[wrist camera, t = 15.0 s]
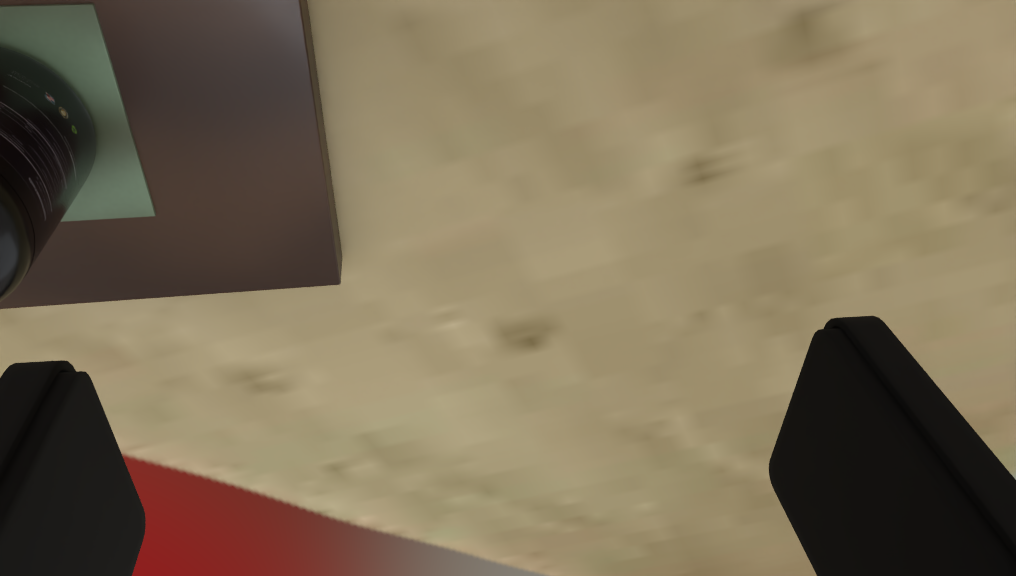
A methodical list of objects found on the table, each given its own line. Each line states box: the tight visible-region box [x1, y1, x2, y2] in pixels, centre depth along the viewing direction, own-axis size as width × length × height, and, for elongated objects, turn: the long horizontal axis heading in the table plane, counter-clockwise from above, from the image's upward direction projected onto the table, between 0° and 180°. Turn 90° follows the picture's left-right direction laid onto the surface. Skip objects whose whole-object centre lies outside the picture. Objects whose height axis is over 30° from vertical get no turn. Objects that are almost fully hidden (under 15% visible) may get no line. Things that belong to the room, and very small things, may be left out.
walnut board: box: [0, 0, 342, 309], centre depth 30 cm, size 22×18×3 cm
